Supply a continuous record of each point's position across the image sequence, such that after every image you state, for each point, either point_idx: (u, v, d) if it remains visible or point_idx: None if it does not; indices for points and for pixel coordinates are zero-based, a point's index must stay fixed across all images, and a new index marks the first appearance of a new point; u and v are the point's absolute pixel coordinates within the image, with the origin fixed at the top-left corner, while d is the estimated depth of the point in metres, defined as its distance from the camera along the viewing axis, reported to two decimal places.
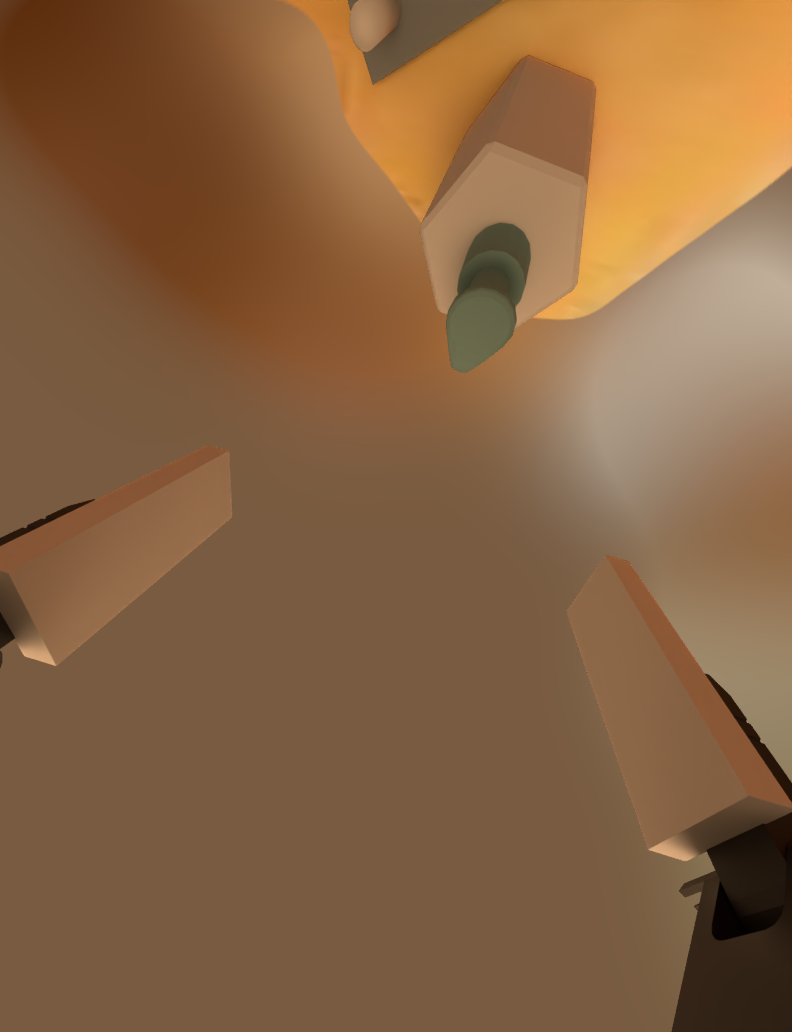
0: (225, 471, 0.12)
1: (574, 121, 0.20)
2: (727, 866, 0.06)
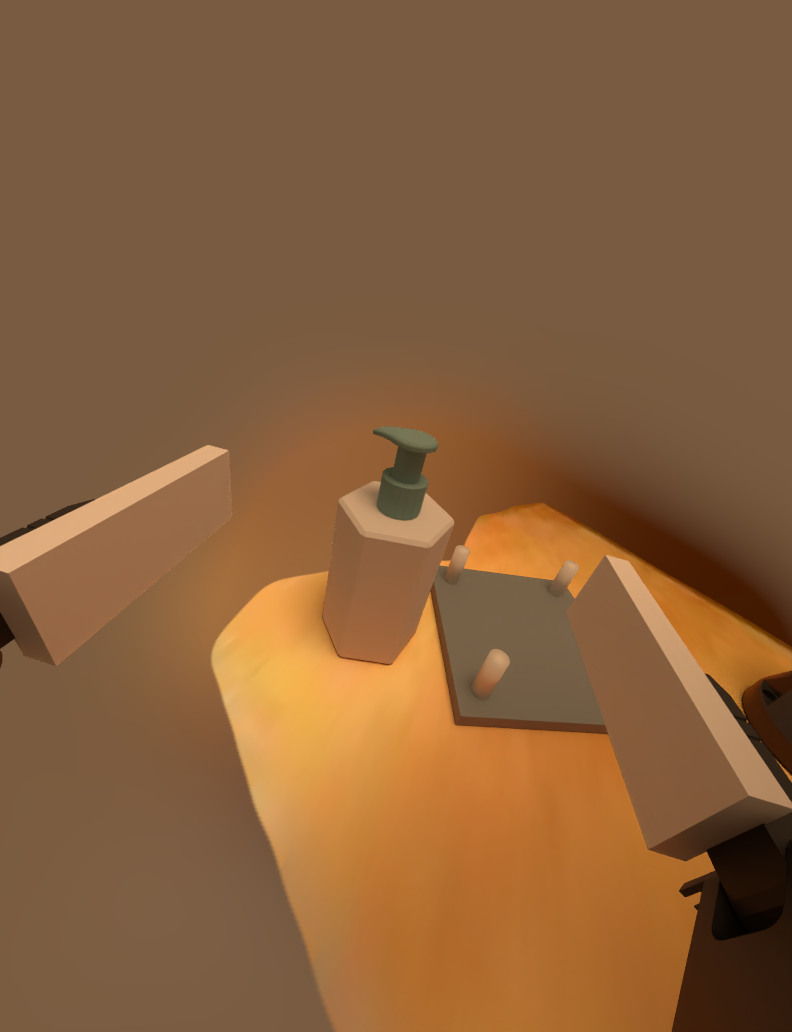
0: (225, 471, 0.12)
1: (416, 600, 0.30)
2: (727, 866, 0.06)
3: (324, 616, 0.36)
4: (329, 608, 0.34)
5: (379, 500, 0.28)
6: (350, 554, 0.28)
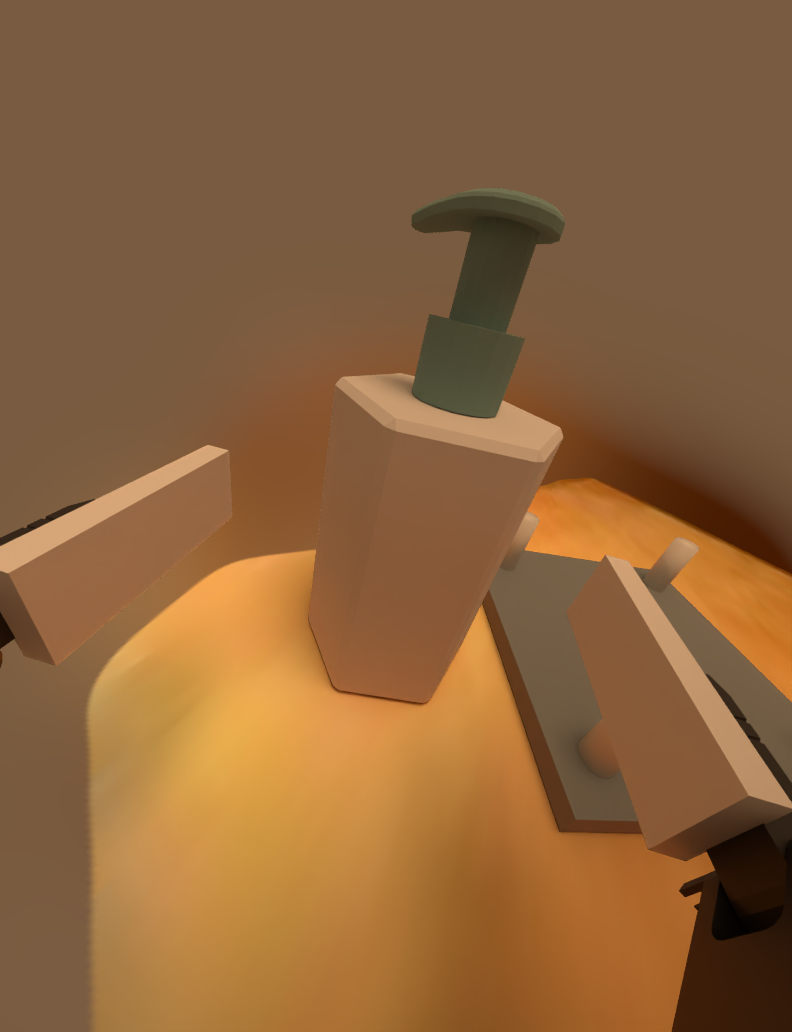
0: (225, 471, 0.12)
1: (485, 587, 0.16)
2: (727, 866, 0.06)
3: (311, 617, 0.21)
4: (318, 603, 0.20)
5: (420, 377, 0.14)
6: (359, 487, 0.13)
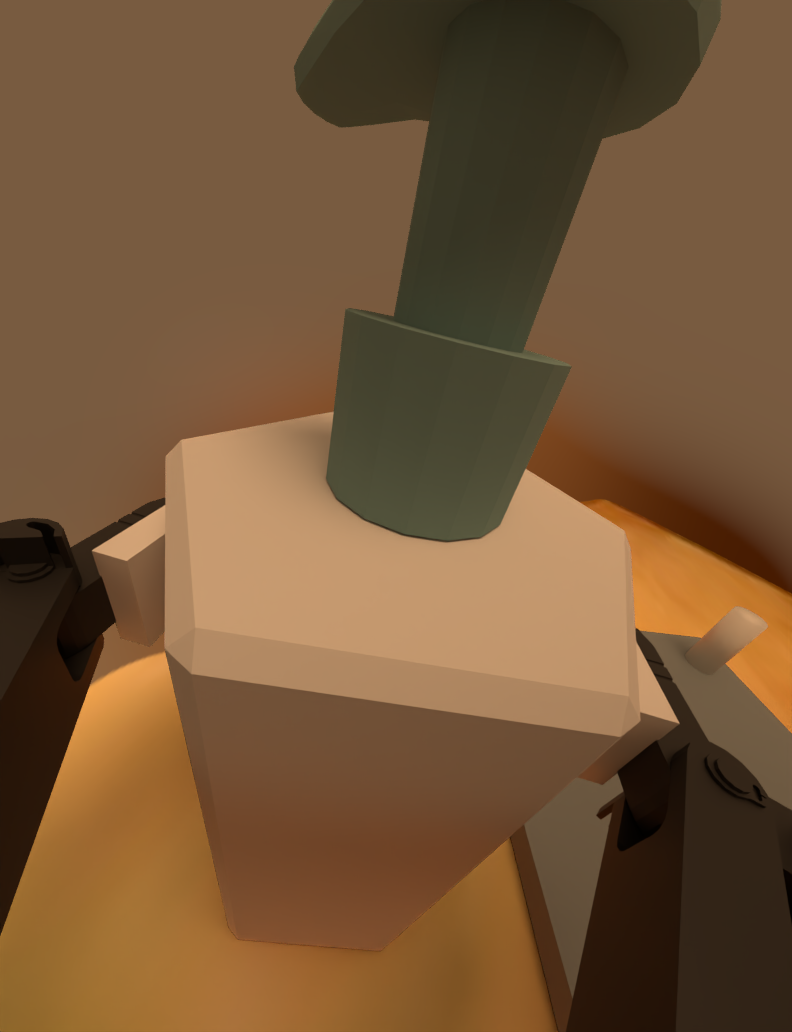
0: None
1: None
2: (629, 786, 0.07)
3: None
4: None
5: (334, 448, 0.06)
6: None
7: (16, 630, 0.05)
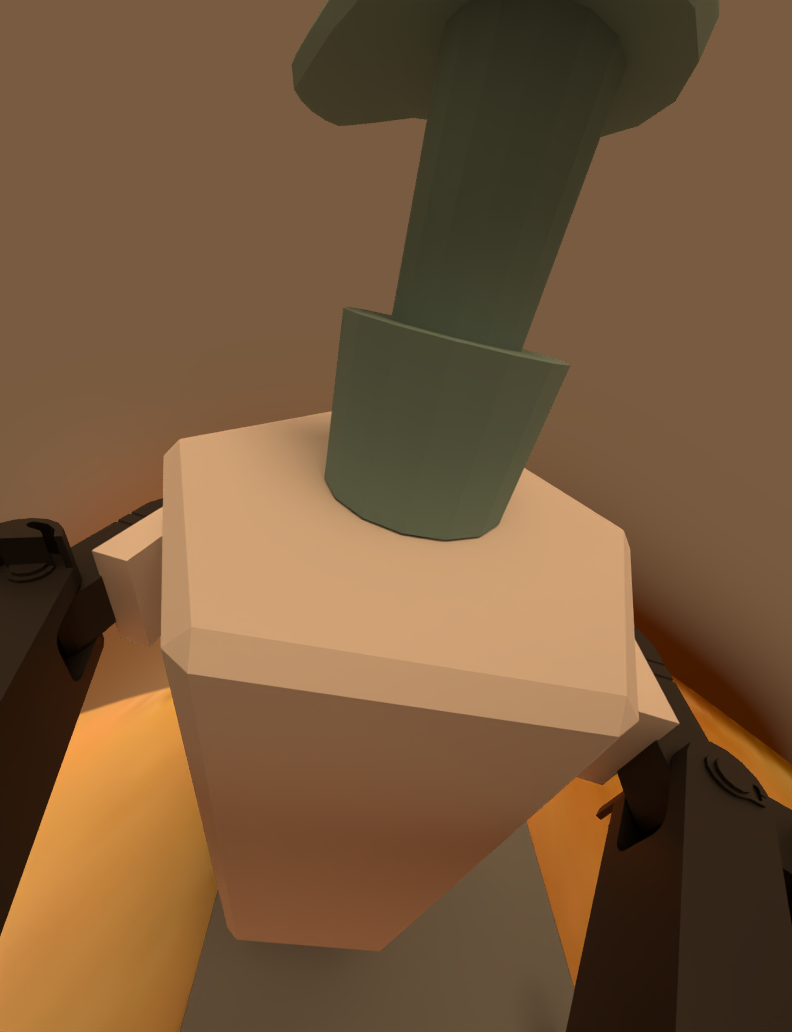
0: None
1: None
2: (629, 786, 0.07)
3: None
4: None
5: (332, 447, 0.06)
6: None
7: (16, 630, 0.05)
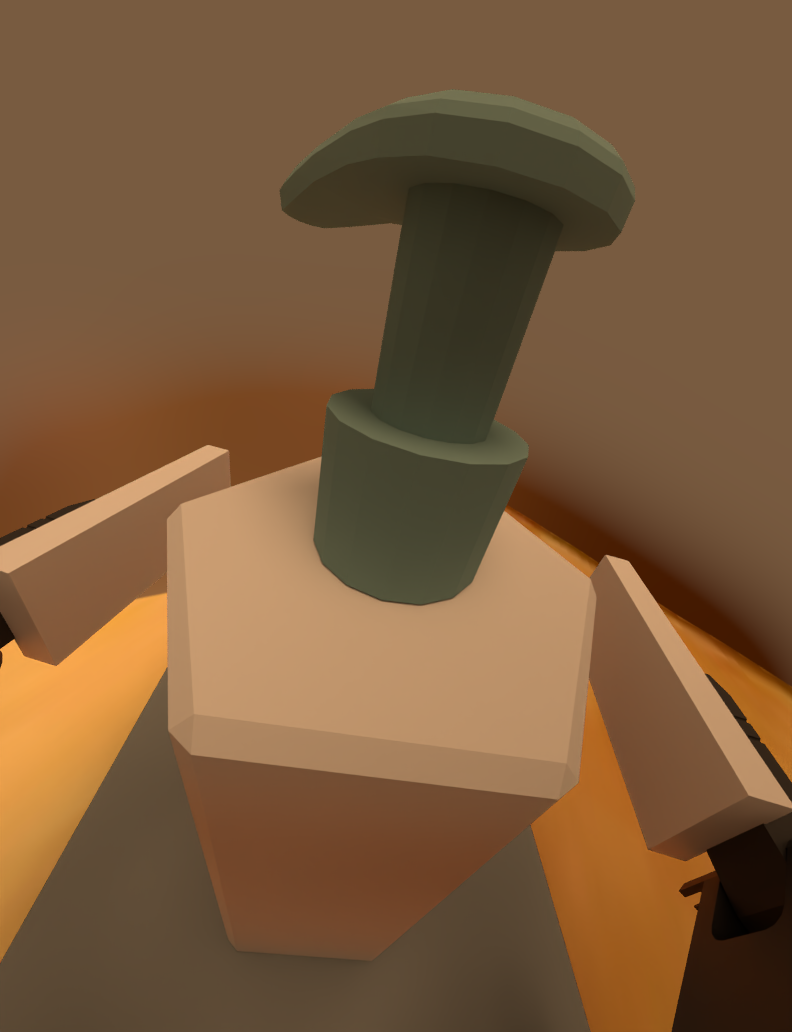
0: (225, 471, 0.12)
1: None
2: (727, 866, 0.06)
3: None
4: None
5: (319, 517, 0.07)
6: None
7: None
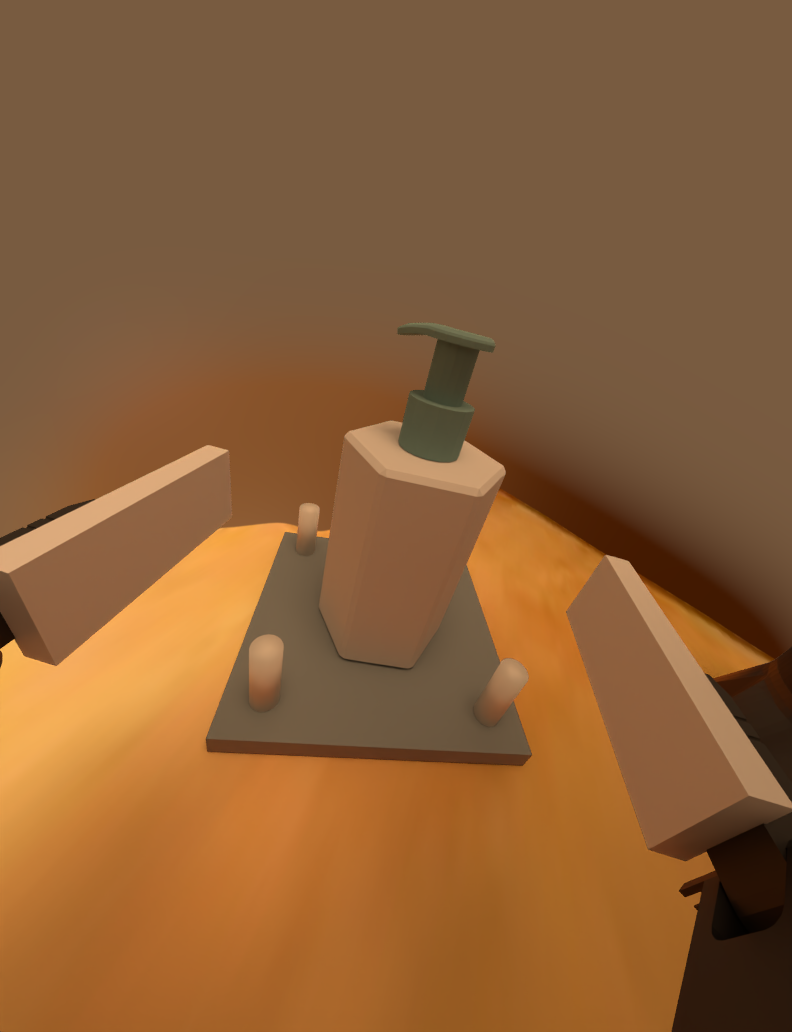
0: (225, 471, 0.12)
1: (451, 579, 0.22)
2: (727, 866, 0.06)
3: (321, 605, 0.27)
4: (328, 593, 0.26)
5: (403, 434, 0.20)
6: (361, 510, 0.19)
7: None
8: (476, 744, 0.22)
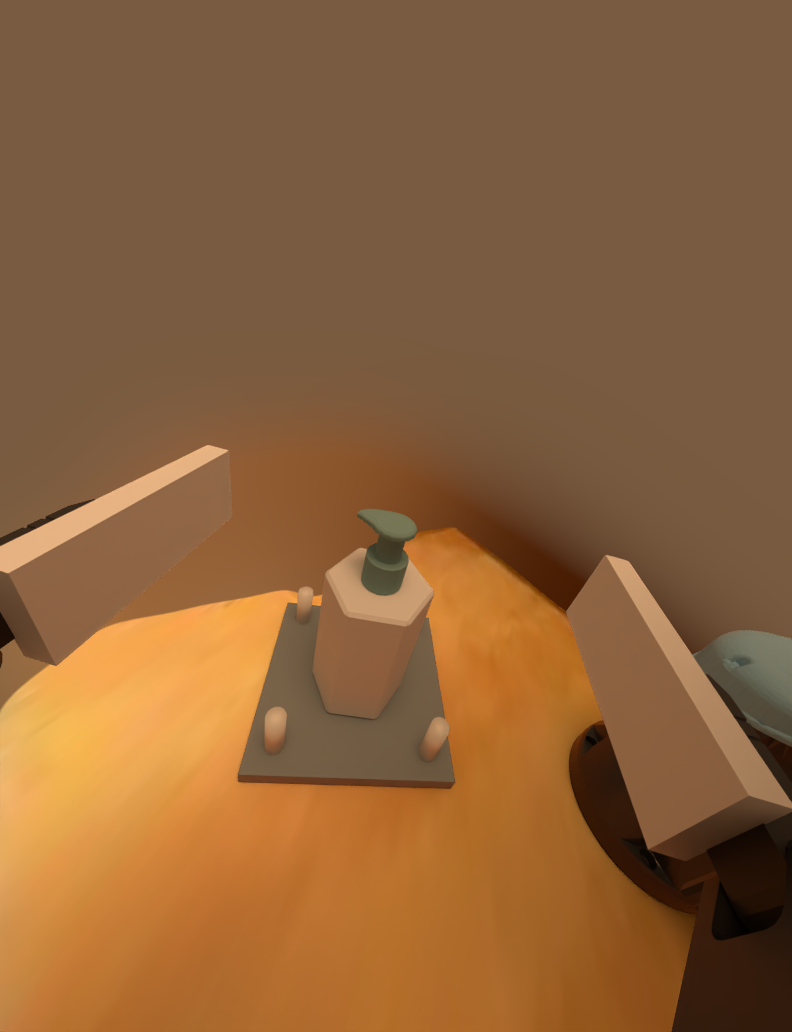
0: (225, 471, 0.12)
1: (398, 664, 0.33)
2: (727, 866, 0.06)
3: (314, 671, 0.38)
4: (318, 665, 0.36)
5: (363, 576, 0.30)
6: (336, 627, 0.30)
7: None
8: (416, 775, 0.33)
